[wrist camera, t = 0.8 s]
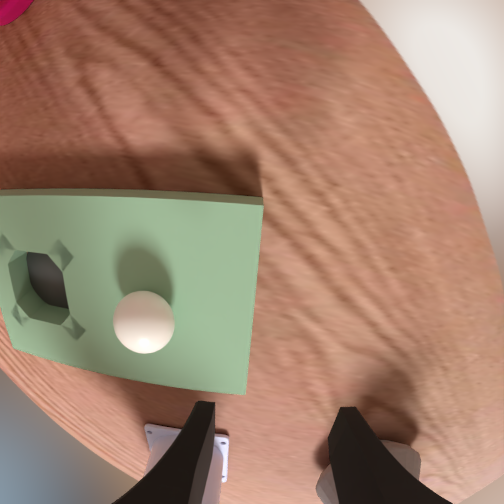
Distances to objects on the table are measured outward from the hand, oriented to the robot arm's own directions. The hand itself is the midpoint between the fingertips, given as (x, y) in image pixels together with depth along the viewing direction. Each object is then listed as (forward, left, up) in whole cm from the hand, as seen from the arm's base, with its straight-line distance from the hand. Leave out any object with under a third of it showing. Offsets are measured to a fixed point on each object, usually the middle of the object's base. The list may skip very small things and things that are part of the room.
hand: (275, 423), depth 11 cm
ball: (0, +7, -6) cm, 9 cm away
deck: (0, +11, -10) cm, 15 cm away
